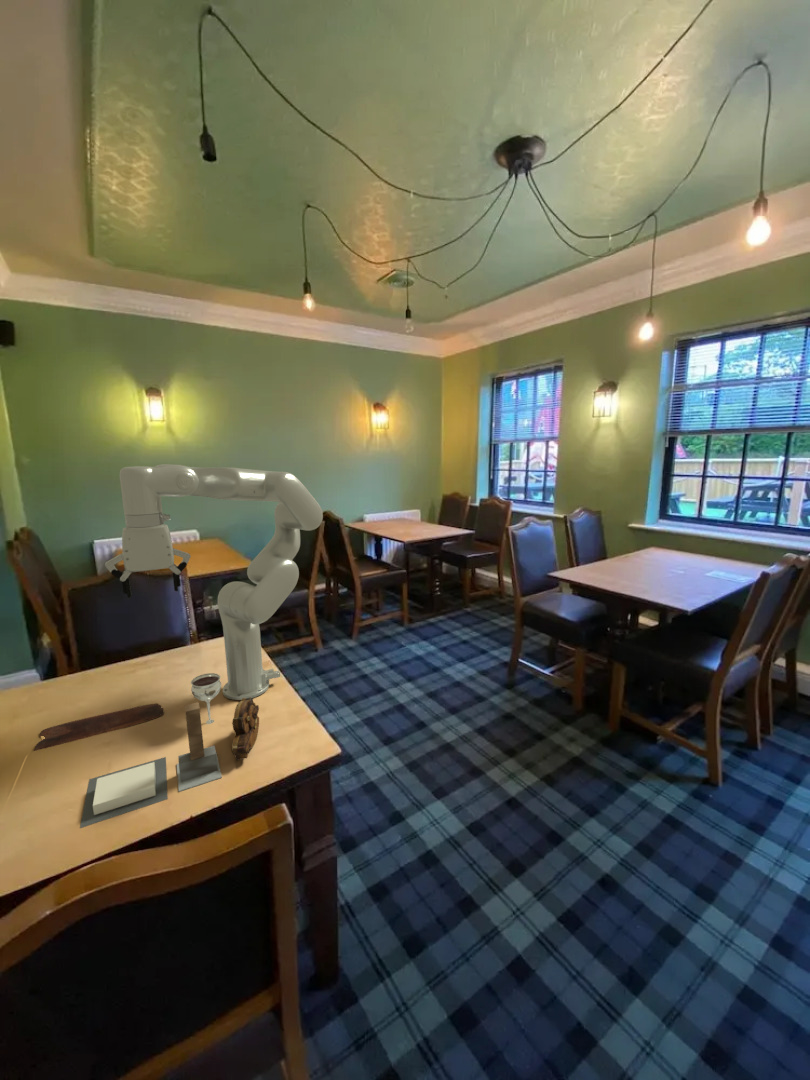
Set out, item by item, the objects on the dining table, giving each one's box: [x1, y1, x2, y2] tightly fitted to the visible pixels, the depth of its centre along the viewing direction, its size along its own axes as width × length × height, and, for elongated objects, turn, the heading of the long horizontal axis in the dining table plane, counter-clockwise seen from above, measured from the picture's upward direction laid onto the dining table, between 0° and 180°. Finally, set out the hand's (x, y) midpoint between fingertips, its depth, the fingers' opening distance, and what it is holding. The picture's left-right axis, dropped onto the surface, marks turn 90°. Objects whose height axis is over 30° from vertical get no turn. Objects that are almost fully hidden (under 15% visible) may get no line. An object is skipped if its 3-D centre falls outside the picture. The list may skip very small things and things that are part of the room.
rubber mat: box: [79, 756, 169, 829], centre depth 90 cm, size 14×14×1 cm
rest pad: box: [176, 751, 223, 793], centre depth 95 cm, size 8×9×1 cm
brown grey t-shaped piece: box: [177, 702, 218, 782], centre depth 93 cm, size 7×3×15 cm, turn 118°
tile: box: [93, 762, 156, 815], centre depth 88 cm, size 10×2×8 cm
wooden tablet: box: [33, 702, 165, 752], centre depth 112 cm, size 26×2×10 cm
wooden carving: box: [231, 697, 260, 761], centre depth 103 cm, size 16×5×10 cm, turn 12°
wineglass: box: [190, 672, 222, 725], centre depth 111 cm, size 7×7×12 cm
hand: (153, 592), depth 105 cm, fingers open, 9 cm apart
